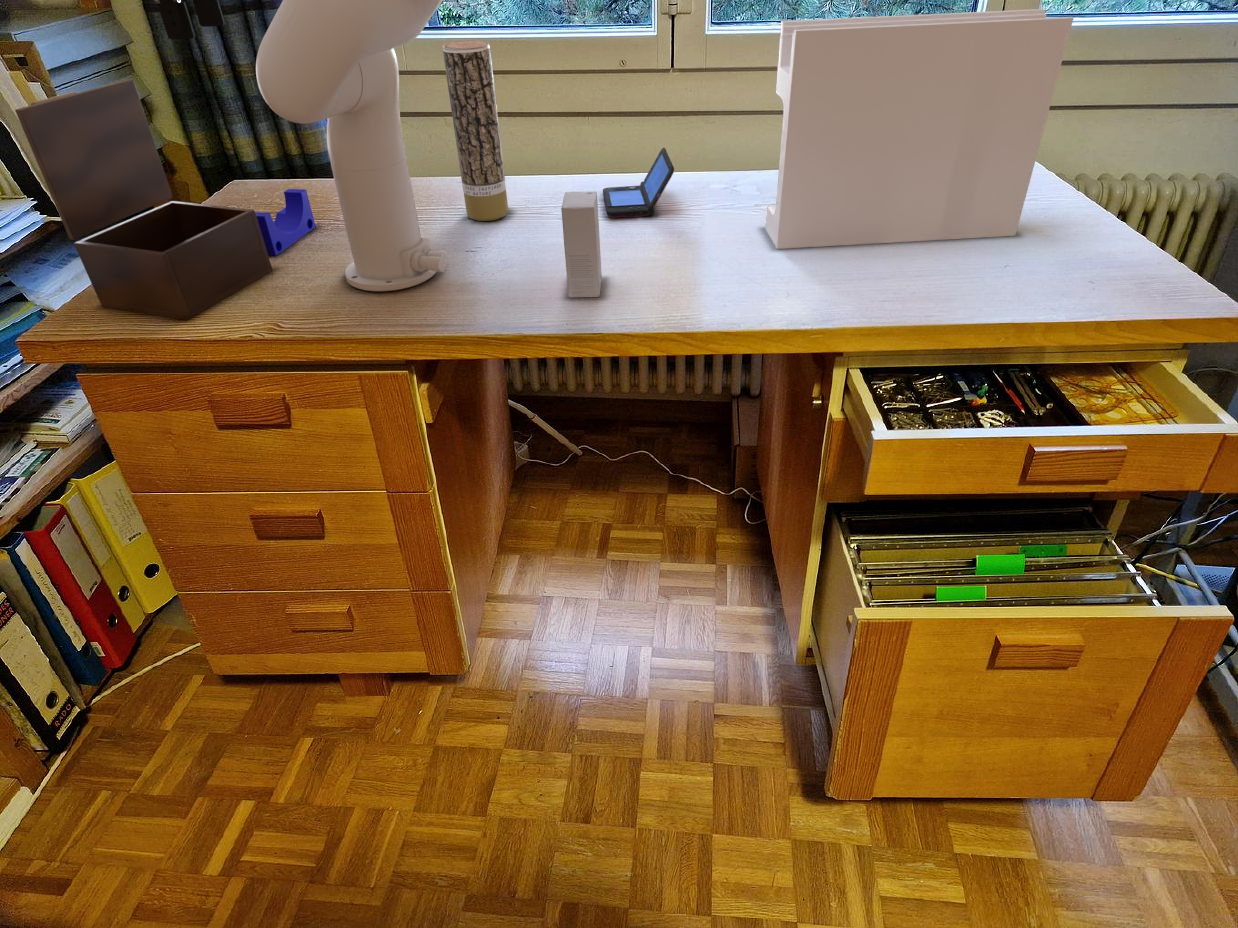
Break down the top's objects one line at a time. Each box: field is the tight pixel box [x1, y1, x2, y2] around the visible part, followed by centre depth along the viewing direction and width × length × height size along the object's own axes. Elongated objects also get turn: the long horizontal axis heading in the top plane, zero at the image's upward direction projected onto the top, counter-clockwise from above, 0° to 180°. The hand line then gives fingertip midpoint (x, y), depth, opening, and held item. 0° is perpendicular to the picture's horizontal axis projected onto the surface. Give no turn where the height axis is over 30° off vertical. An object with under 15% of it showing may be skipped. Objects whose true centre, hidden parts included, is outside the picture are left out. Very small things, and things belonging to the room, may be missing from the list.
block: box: [764, 8, 1074, 250], centre depth 112 cm, size 35×8×28 cm, turn 94°
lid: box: [14, 78, 173, 240], centre depth 105 cm, size 16×17×5 cm
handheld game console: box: [602, 147, 675, 219], centre depth 132 cm, size 12×11×7 cm
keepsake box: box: [73, 200, 274, 321], centre depth 110 cm, size 15×17×9 cm
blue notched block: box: [255, 188, 317, 257], centre depth 124 cm, size 12×4×6 cm, turn 168°
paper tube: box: [441, 40, 509, 222], centre depth 125 cm, size 7×7×25 cm
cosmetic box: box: [561, 190, 603, 299], centre depth 104 cm, size 6×4×12 cm
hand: (198, 32), depth 105 cm, fingers open, 9 cm apart
